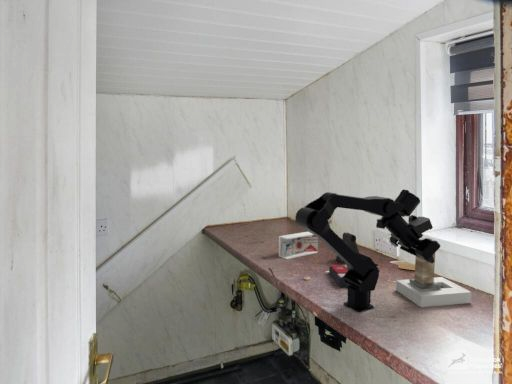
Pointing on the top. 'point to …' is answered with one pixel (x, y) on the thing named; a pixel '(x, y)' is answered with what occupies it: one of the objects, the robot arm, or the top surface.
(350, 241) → the phone stand
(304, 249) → the cigarette display
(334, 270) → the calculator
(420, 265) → the keyhole post
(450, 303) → the keyhole plate
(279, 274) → the top surface
